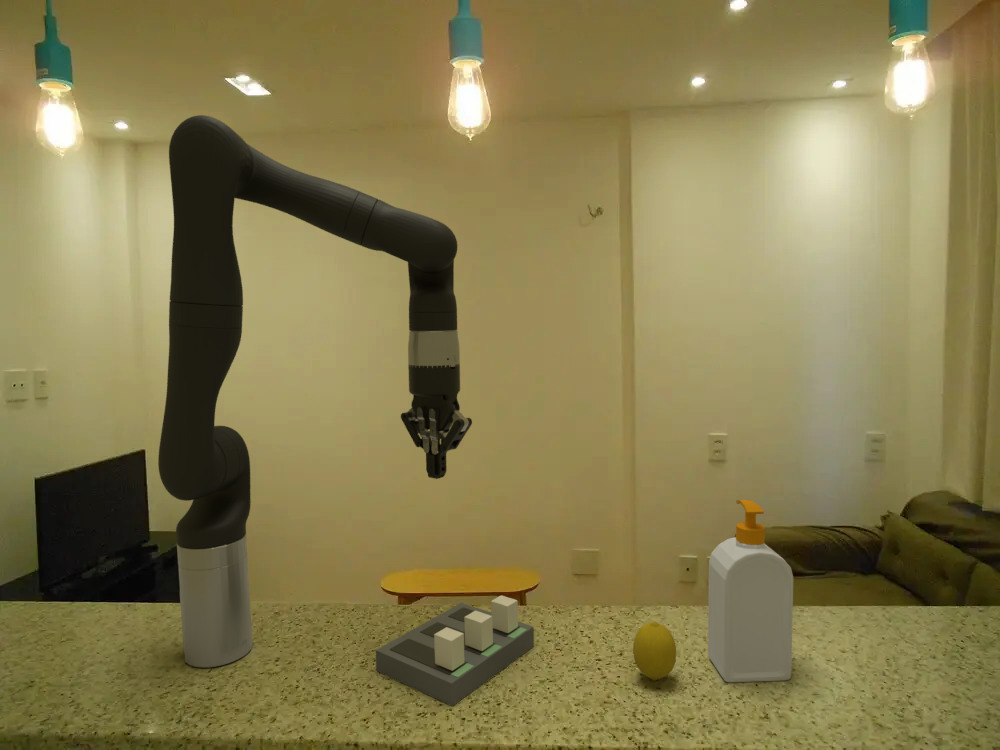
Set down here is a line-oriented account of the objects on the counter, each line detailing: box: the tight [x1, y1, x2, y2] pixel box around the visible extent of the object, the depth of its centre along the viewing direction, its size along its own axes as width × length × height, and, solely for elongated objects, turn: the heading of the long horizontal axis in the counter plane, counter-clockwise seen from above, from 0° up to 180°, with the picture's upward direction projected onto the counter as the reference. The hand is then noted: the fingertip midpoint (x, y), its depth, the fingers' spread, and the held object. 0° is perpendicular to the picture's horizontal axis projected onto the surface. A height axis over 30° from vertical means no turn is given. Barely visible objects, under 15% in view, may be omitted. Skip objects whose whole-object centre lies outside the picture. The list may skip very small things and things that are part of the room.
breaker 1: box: [434, 627, 464, 671], centre depth 85 cm, size 3×2×4 cm
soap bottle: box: [707, 499, 794, 683], centre depth 87 cm, size 9×7×23 cm
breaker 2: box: [490, 595, 519, 633], centre depth 94 cm, size 3×2×4 cm
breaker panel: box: [375, 602, 535, 707], centre depth 92 cm, size 14×18×3 cm
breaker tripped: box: [464, 611, 493, 651], centre depth 90 cm, size 3×2×4 cm
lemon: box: [632, 620, 677, 681], centre depth 86 cm, size 6×6×8 cm
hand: (436, 477), depth 97 cm, fingers closed
